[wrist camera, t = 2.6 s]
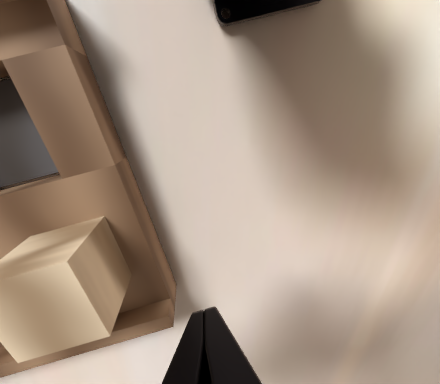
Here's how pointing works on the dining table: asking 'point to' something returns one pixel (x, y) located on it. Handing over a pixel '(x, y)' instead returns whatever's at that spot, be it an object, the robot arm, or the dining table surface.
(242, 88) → the dining table surface
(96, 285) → the maple block
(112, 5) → the dining table surface
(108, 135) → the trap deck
